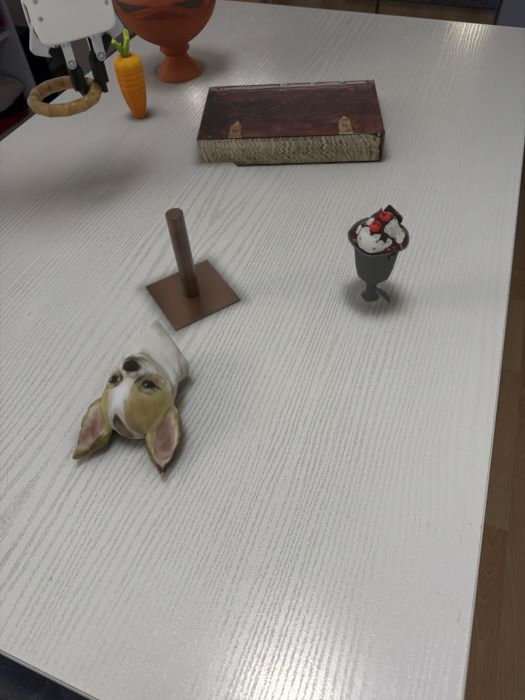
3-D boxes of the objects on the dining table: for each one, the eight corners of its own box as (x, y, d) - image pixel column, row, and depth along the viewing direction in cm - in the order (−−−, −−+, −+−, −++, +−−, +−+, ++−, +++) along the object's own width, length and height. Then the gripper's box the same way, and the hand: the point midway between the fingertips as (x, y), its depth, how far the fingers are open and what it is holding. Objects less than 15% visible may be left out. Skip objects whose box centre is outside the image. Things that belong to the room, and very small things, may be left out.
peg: (176, 336, 65) (153, 251, 55) (146, 292, 70) (120, 207, 60) (241, 305, 68) (230, 218, 58) (207, 265, 73) (192, 180, 63)
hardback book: (371, 104, 98) (374, 76, 94) (381, 162, 86) (385, 132, 82) (212, 111, 100) (209, 83, 96) (201, 168, 88) (196, 139, 84)
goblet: (113, 79, 111) (73, -70, 92) (182, 46, 120) (158, -97, 100) (175, 106, 102) (145, -54, 83) (245, 68, 111) (232, -85, 92)
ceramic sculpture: (202, 315, 55) (153, 449, 46) (215, 364, 62) (175, 488, 53) (105, 304, 57) (42, 430, 48) (128, 352, 64) (77, 470, 55)
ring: (43, 127, 69) (38, 115, 68) (22, 98, 74) (17, 87, 73) (113, 104, 72) (110, 92, 71) (88, 79, 77) (85, 67, 76)
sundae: (355, 326, 64) (366, 224, 53) (334, 289, 69) (341, 186, 57) (406, 313, 65) (428, 209, 54) (383, 277, 70) (398, 173, 58)
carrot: (134, 130, 97) (112, 40, 86) (123, 119, 100) (100, 31, 89) (159, 121, 99) (140, 32, 87) (147, 111, 102) (127, 23, 90)
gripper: (100, -94, 65) (135, 66, 79) (-35, -68, 60) (28, 98, 74) (124, -82, 60) (157, 85, 75) (-19, -53, 56) (45, 120, 70)
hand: (93, 90), depth 74 cm, fingers closed on ring, 2 cm apart
